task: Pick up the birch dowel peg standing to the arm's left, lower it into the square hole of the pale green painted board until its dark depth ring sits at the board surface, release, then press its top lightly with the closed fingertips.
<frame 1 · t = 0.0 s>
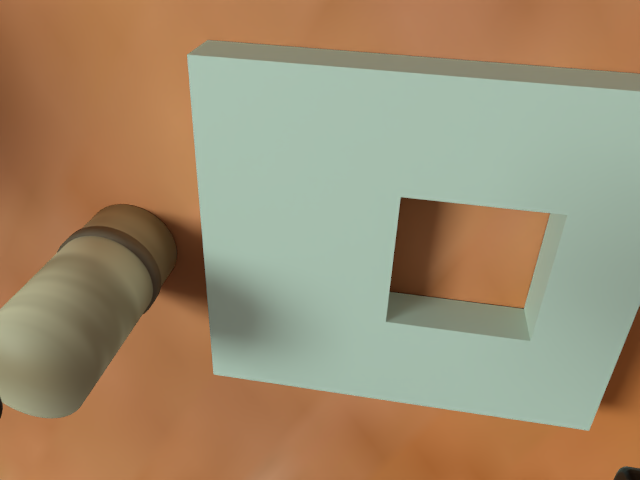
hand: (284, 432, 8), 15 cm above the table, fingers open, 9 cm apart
peg: (133, 244, 26), on the table
board: (414, 238, 23), on the table
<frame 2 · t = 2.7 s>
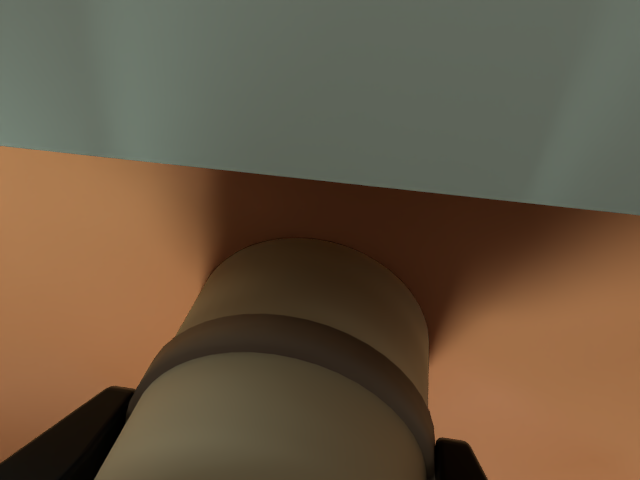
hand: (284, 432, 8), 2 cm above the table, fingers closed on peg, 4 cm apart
peg: (309, 338, 10), on the table, touching gripper
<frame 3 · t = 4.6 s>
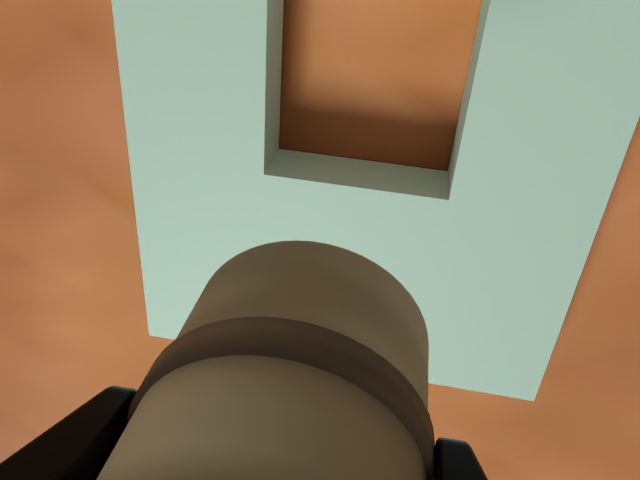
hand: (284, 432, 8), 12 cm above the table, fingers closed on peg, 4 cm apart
peg: (310, 340, 10), point 10 cm above the table, touching gripper
board: (364, 138, 19), on the table
when the fingers open (2 cm above the table, at t = 6.8 s): peg stays where it is, resting in board.
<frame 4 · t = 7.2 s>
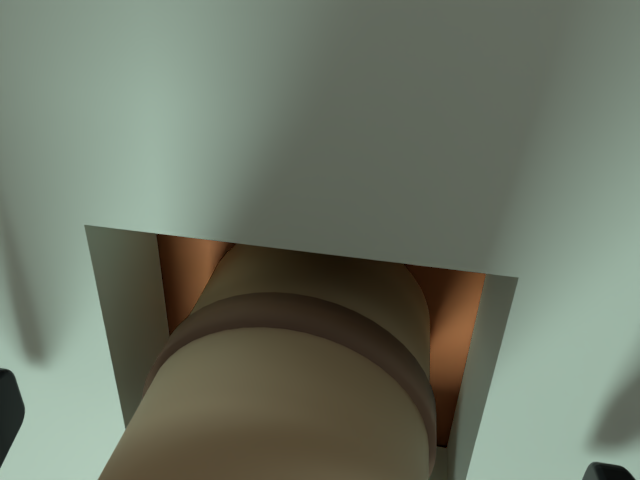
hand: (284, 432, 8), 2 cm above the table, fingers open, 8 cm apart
peg: (315, 321, 11), resting in board
board: (309, 399, 12), on the table
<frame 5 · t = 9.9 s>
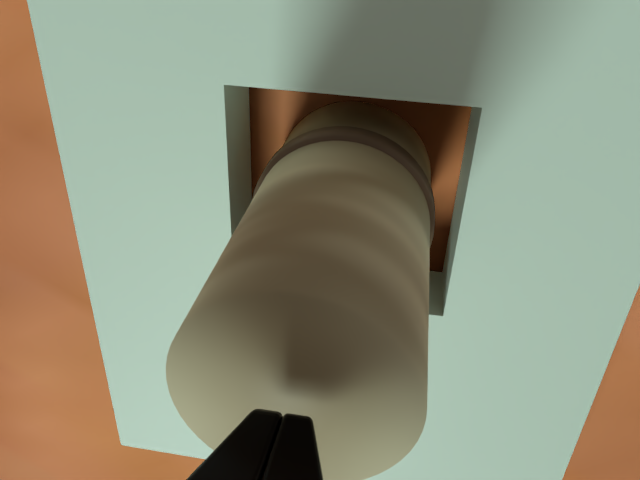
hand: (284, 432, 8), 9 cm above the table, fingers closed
peg: (354, 174, 16), resting in board
board: (347, 238, 17), on the table
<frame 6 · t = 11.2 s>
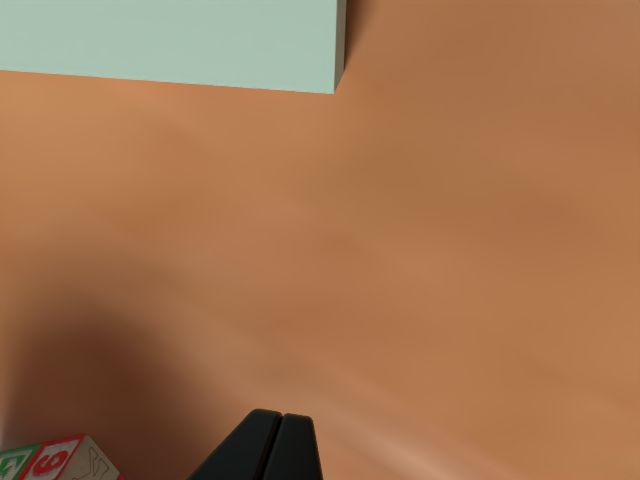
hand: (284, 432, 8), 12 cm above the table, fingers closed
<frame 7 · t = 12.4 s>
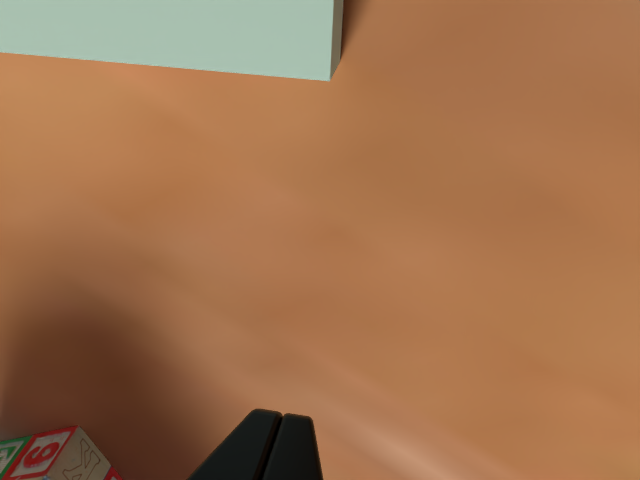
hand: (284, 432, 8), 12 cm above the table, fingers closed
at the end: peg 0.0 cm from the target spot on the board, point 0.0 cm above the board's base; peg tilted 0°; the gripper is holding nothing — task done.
